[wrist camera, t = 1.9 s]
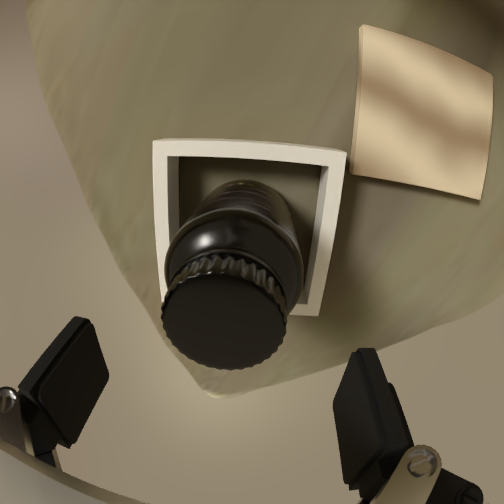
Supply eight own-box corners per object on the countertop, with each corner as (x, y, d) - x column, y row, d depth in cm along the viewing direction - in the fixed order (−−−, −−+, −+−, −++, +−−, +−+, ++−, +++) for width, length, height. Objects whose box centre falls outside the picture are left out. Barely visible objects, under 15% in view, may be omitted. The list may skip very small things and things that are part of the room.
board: (359, 28, 15) (363, 24, 14) (485, 75, 14) (492, 75, 13) (348, 171, 19) (352, 174, 18) (473, 196, 19) (480, 200, 18)
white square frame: (165, 138, 19) (152, 140, 17) (337, 149, 19) (346, 152, 16) (170, 285, 24) (162, 302, 22) (314, 298, 24) (318, 316, 21)
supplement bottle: (291, 264, 23) (306, 388, 12) (204, 265, 23) (156, 381, 12) (292, 175, 20) (320, 243, 9) (195, 178, 20) (114, 246, 9)
